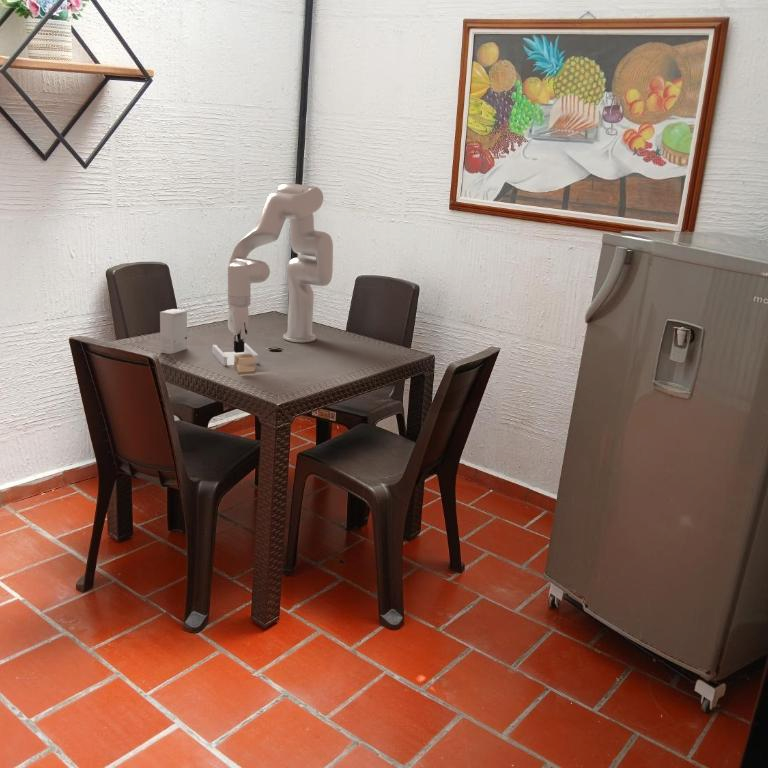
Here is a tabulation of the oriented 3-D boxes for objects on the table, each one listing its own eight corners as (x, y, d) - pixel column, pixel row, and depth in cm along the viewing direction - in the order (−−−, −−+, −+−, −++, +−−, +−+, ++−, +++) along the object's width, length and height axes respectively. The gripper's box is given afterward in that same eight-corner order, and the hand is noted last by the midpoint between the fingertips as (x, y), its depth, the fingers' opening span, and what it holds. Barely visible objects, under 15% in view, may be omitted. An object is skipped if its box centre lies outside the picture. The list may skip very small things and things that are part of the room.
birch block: (233, 370, 271) (234, 354, 269) (249, 368, 273) (250, 353, 272) (239, 375, 266) (239, 359, 265) (255, 373, 269) (255, 358, 267)
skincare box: (173, 355, 281) (173, 314, 276) (159, 352, 283) (158, 311, 278) (188, 350, 288) (188, 309, 283) (174, 347, 290) (173, 307, 286)
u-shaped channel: (212, 355, 285) (212, 344, 284) (245, 353, 290) (245, 343, 289) (223, 367, 272) (223, 356, 271) (257, 365, 277) (258, 354, 276)
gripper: (222, 295, 276) (222, 346, 282) (234, 306, 263) (234, 359, 270) (243, 294, 279) (243, 344, 285) (256, 304, 267) (256, 357, 273)
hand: (239, 351), depth 277 cm, fingers closed
